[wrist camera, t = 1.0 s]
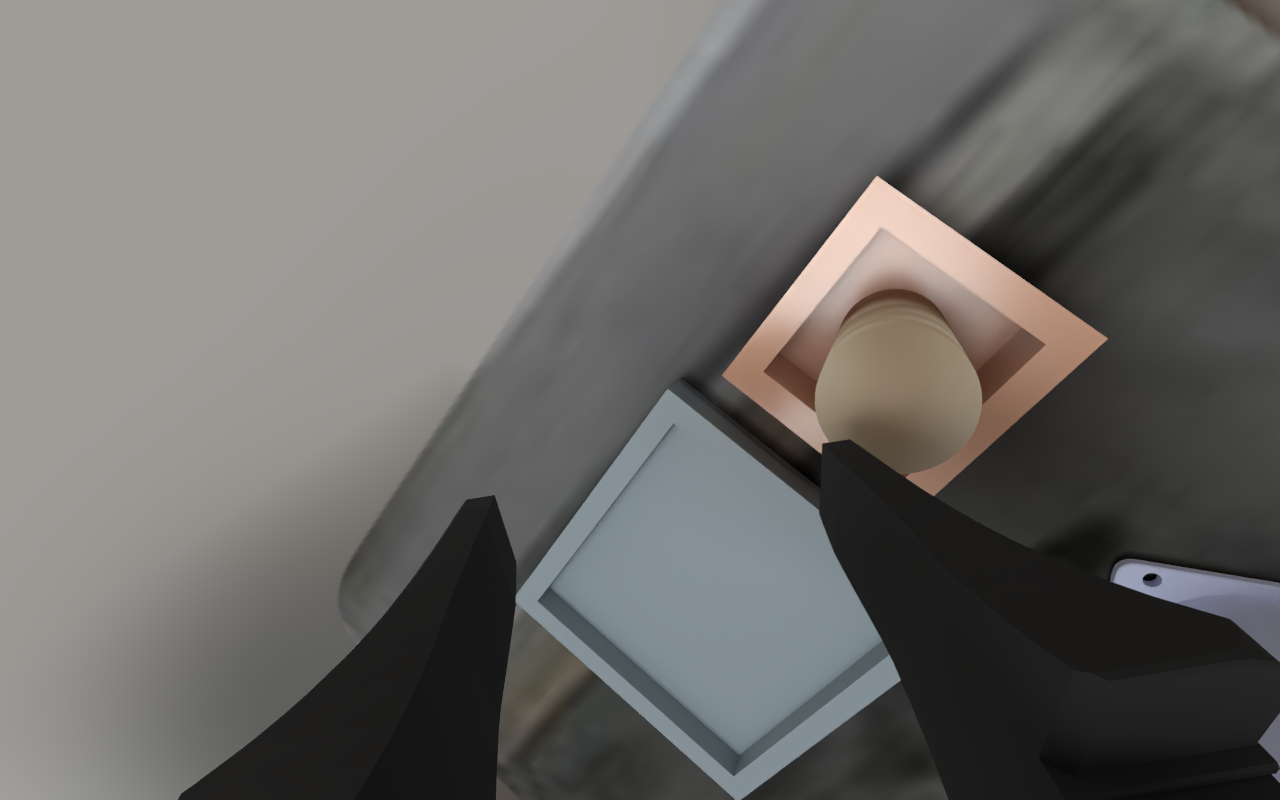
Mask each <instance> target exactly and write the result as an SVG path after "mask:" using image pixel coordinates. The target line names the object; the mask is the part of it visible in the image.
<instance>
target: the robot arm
mask: <svg viewBox="0 0 1280 800" xmlns="http://www.w3.org/2000/svg"><path fill="white" fill-rule="evenodd" d="M819 515H820V518H821V520H822V523H823V526H824V528H825V531H826V534H827V536H828V539H829V541H830V544H831V546H832V549H833V551H834V553H835V556H836V557H837V559H838V561H839V563H840V565H841V567H842V569H843V570H844V572H845V574H846V576H847V578H848V580H849V581H850V583H851V585H852V587H853V589H854V591H855V592H856V594H857V596H858V598H859V600H860V601H861V603H862V605H863V607H864V609H865V610H866V612H867V614H868V616H869V618H870V619H871V621H872V623H873V625H874V627H875V628H876V630H877V632H878V634H879V636H880V637H881V639H882V641H883V643H884V645H885V647H886V649H887V651H888V653H889V655H890V657H891V659H892V661H893V663H894V665H895V668H896V670H897V672H898V675H899V677H900V679H901V682H902V684H903V686H904V689H905V691H906V693H907V696H908V698H909V700H910V703H911V705H912V707H913V710H914V712H915V715H916V717H917V720H918V722H919V725H920V727H921V730H922V732H923V734H924V737H925V739H926V742H927V744H928V747H929V749H930V752H931V754H932V757H933V759H934V762H935V765H936V767H937V770H938V773H939V775H940V778H941V780H942V783H943V786H944V788H945V791H946V794H947V796H948V799H949V800H1280V583H1277V582H1271V581H1265V580H1259V579H1253V578H1247V577H1240V576H1234V575H1228V574H1222V573H1216V572H1210V571H1204V570H1198V569H1192V568H1186V567H1180V566H1174V565H1168V564H1161V563H1155V562H1149V561H1143V560H1137V559H1124V560H1121V561H1119V562H1118V563H1116V564H1115V566H1114V568H1113V570H1112V574H1111V578H1110V581H1108V580H1105V579H1102V578H1100V577H1097V576H1094V575H1092V574H1089V573H1086V572H1084V571H1081V570H1079V569H1076V568H1074V567H1072V566H1069V565H1067V564H1064V563H1062V562H1060V561H1057V560H1055V559H1052V558H1050V557H1048V556H1045V555H1043V554H1041V553H1039V552H1036V551H1034V550H1032V549H1030V548H1028V547H1025V546H1023V545H1021V544H1019V543H1017V542H1015V541H1013V540H1011V539H1009V538H1007V537H1005V536H1003V535H1001V534H999V533H997V532H995V531H993V530H991V529H989V528H987V527H985V526H984V525H982V524H980V523H978V522H976V521H974V520H973V519H971V518H969V517H967V516H966V515H964V514H962V513H961V512H959V511H957V510H955V509H954V508H952V507H950V506H949V505H947V504H945V503H944V502H942V501H940V500H939V499H937V498H936V497H934V496H932V495H931V494H929V493H928V492H926V491H925V490H923V489H922V488H920V487H918V486H917V485H915V484H914V483H912V482H911V481H909V480H908V479H906V478H905V477H904V476H902V475H901V474H899V473H898V472H896V471H895V470H893V469H892V468H890V467H889V466H888V465H886V464H885V463H883V462H882V461H880V460H879V459H878V458H876V457H875V456H873V455H872V454H871V453H869V452H868V451H866V450H865V449H863V448H862V447H861V446H859V445H858V444H856V443H855V442H853V441H852V440H850V439H848V440H841V441H835V442H829V443H822V461H821V483H820V505H819ZM1149 573H1155V574H1157V577H1156V578H1155V579H1154V580H1152V581H1145V580H1143V579H1142V578H1143V577H1144V576H1145V575H1147V574H1149ZM515 606H516V560H515V557H514V554H513V551H512V548H511V545H510V542H509V538H508V535H507V532H506V529H505V526H504V523H503V520H502V517H501V514H500V511H499V508H498V504H497V501H496V498H495V495H493V496H487V497H481V498H474V499H468V500H466V501H465V502H464V504H463V505H462V507H461V508H460V510H459V511H458V513H457V514H456V516H455V517H454V519H453V520H452V522H451V523H450V525H449V526H448V528H447V529H446V531H445V532H444V534H443V535H442V537H441V538H440V540H439V541H438V543H437V544H436V546H435V547H434V549H433V550H432V552H431V553H430V555H429V556H428V557H427V559H426V560H425V562H424V563H423V564H422V566H421V567H420V569H419V570H418V572H417V573H416V574H415V576H414V577H413V578H412V580H411V581H410V582H409V584H408V585H407V586H406V588H405V589H404V590H403V591H402V593H401V594H400V595H399V597H398V598H397V599H396V600H395V602H394V603H393V604H392V606H391V607H390V608H389V609H388V611H387V612H386V613H385V614H384V615H383V617H382V618H381V619H380V620H379V621H378V623H377V624H376V625H375V626H374V627H373V628H372V630H371V631H370V632H369V633H368V634H367V635H366V636H365V637H364V638H363V639H362V640H361V642H360V643H359V644H358V645H357V646H356V647H355V648H354V649H353V650H352V651H351V652H350V653H349V654H348V655H347V656H346V657H345V659H343V660H342V661H341V662H340V663H339V664H338V665H337V666H336V667H335V668H334V669H333V670H332V671H331V672H330V673H329V674H328V675H327V676H326V677H325V678H324V679H323V680H321V681H320V682H319V683H318V684H317V685H316V686H315V687H314V688H313V689H312V690H311V691H310V692H309V693H308V694H307V695H306V696H305V697H303V698H302V699H301V700H300V701H299V702H298V703H297V704H296V705H294V706H293V707H292V708H291V709H290V710H289V711H287V712H286V713H285V714H284V715H283V716H282V717H281V718H279V719H278V720H277V721H276V722H274V723H273V724H272V725H271V726H270V727H268V728H267V729H266V730H265V731H264V732H262V733H261V734H260V735H259V736H258V737H257V738H255V739H254V740H253V741H251V742H250V743H249V744H247V745H246V746H245V747H244V748H243V749H241V750H240V751H239V752H237V753H236V754H235V755H233V756H232V757H230V758H229V759H228V760H227V761H225V762H224V763H223V764H221V765H220V766H218V767H217V768H216V769H214V770H213V771H212V772H210V773H209V774H208V775H206V776H205V777H204V778H202V779H201V780H200V781H198V782H197V783H196V784H195V785H193V786H192V787H190V788H189V789H187V790H186V791H184V792H183V793H182V794H181V795H180V797H179V799H178V800H496V776H497V755H498V734H499V721H500V711H501V703H502V696H503V689H504V682H505V676H506V669H507V662H508V655H509V649H510V642H511V635H512V628H513V621H514V613H515Z"/></svg>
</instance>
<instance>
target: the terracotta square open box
mask: <svg viewBox="0 0 1280 800" xmlns="http://www.w3.org/2000/svg"><path fill="white" fill-rule="evenodd" d="M888 289H903V290H909V291H913V292H916V293H918V294H921V295H922V296H924V297H926V298H928V299H929V300H930V301H932V302H933V303H934V304H935V305H936V306H937V307H938V309H939V310H940V311H941V313H942V314H943V316H944V318H945V319H946V321H947V323H948V325H949V326H950V328H951V330H952V331H953V333H954V335H955V336H956V338H957V340H958V342H959V343H960V345H961V347H962V348H963V350H964V352H965V354H966V355H967V357H968V359H969V360H970V362H971V364H972V366H973V367H974V369H975V371H976V373H977V376H978V379H979V381H980V386H981V390H982V409H981V414H980V418H979V422H978V424H977V426H976V429H975V431H974V433H973V434H972V436H971V438H970V439H969V441H968V442H967V443H966V444H965V445H964V447H963V448H962V449H961V450H960V451H958V452H957V453H956V454H955V455H954V456H952V457H951V458H950V459H948V460H947V461H945V462H943V463H941V464H940V465H938V466H935V467H933V468H930V469H928V470H924V471H921V472H917V473H910V474H901V475H902V476H904V477H905V478H906V479H908V480H909V481H911V482H912V483H914V484H915V485H917V486H918V487H920V488H922V489H923V490H925V491H926V492H928V493H929V494H931V495H932V496H935V495H936V494H937V493H938V492H939V491H940V490H941V489H942V488H943V487H944V486H946V485H947V484H948V483H949V482H950V481H951V480H952V479H953V478H954V477H956V476H957V475H958V474H959V473H960V472H961V471H962V470H963V469H964V468H966V467H967V466H968V465H969V464H970V463H971V462H972V461H973V460H974V459H975V458H977V457H978V456H979V455H980V454H981V453H982V452H983V451H984V450H985V449H987V448H988V447H989V446H990V445H991V444H992V443H993V442H994V441H995V440H997V439H998V438H999V437H1000V436H1001V435H1002V434H1003V433H1004V432H1005V431H1006V430H1008V429H1009V428H1010V427H1011V426H1012V425H1013V424H1014V423H1015V422H1016V421H1018V420H1019V419H1020V418H1021V417H1022V416H1023V415H1024V414H1025V413H1026V412H1028V411H1029V410H1030V409H1031V408H1032V407H1033V406H1034V405H1035V404H1036V403H1037V402H1039V401H1040V400H1041V399H1042V398H1043V397H1044V396H1045V395H1046V394H1047V393H1049V392H1050V391H1051V390H1052V389H1053V388H1054V387H1055V386H1056V385H1057V384H1059V383H1060V382H1061V381H1062V380H1063V379H1064V378H1065V377H1066V376H1067V375H1068V374H1070V373H1071V372H1072V371H1073V370H1074V369H1075V368H1076V367H1077V366H1078V365H1080V364H1081V363H1082V362H1083V361H1084V360H1085V359H1086V358H1087V357H1088V356H1090V355H1091V354H1092V353H1093V352H1094V351H1095V350H1096V349H1097V348H1098V347H1099V346H1101V345H1102V344H1103V343H1104V342H1105V341H1106V340H1107V339H1108V338H1106V337H1105V336H1104V335H1102V334H1101V333H1099V332H1098V331H1096V330H1095V329H1094V328H1092V327H1091V326H1089V325H1088V324H1086V323H1085V322H1084V321H1082V320H1081V319H1079V318H1078V317H1077V316H1075V315H1074V314H1072V313H1071V312H1069V311H1068V310H1067V309H1065V308H1064V307H1062V306H1061V305H1059V304H1058V303H1057V302H1055V301H1054V300H1052V299H1051V298H1050V297H1048V296H1047V295H1045V294H1044V293H1042V292H1041V291H1040V290H1038V289H1037V288H1035V287H1034V286H1032V285H1031V284H1030V283H1028V282H1027V281H1025V280H1024V279H1023V278H1021V277H1020V276H1018V275H1017V274H1015V273H1014V272H1013V271H1011V270H1010V269H1008V268H1007V267H1006V266H1004V265H1003V264H1001V263H1000V262H998V261H997V260H996V259H994V258H993V257H991V256H990V255H988V254H987V253H986V252H984V251H983V250H981V249H980V248H979V247H977V246H976V245H974V244H973V243H971V242H970V241H969V240H967V239H966V238H964V237H963V236H961V235H960V234H959V233H957V232H956V231H954V230H953V229H952V228H950V227H949V226H947V225H946V224H944V223H943V222H942V221H940V220H939V219H937V218H936V217H935V216H933V215H932V214H930V213H929V212H927V211H926V210H925V209H923V208H922V207H920V206H919V205H917V204H916V203H915V202H913V201H912V200H910V199H909V198H908V197H906V196H905V195H903V194H902V193H900V192H899V191H898V190H896V189H895V188H893V187H892V186H890V185H889V184H888V183H886V182H885V181H883V180H882V179H881V178H879V177H878V176H876V178H875V179H874V180H873V181H872V183H871V184H870V185H869V187H868V188H867V189H866V190H865V192H864V193H863V194H862V196H861V197H860V198H859V200H858V201H857V202H856V203H855V205H854V206H853V207H852V209H851V210H850V211H849V212H848V214H847V215H846V216H845V218H844V219H843V220H842V221H841V223H840V224H839V225H838V227H837V228H836V229H835V230H834V232H833V233H832V234H831V236H830V237H829V238H828V239H827V241H826V242H825V243H824V245H823V246H822V247H821V249H820V250H819V251H818V252H817V254H816V255H815V256H814V258H813V259H812V260H811V261H810V263H809V264H808V265H807V267H806V268H805V269H804V270H803V272H802V273H801V274H800V276H799V277H798V278H797V279H796V281H795V282H794V283H793V285H792V286H791V287H790V288H789V290H788V291H787V292H786V294H785V295H784V296H783V297H782V299H781V300H780V301H779V303H778V304H777V305H776V307H775V308H774V309H773V310H772V312H771V313H770V314H769V316H768V317H767V318H766V319H765V321H764V322H763V323H762V325H761V326H760V327H759V328H758V330H757V331H756V332H755V334H754V335H753V336H752V337H751V339H750V340H749V341H748V343H747V344H746V345H745V346H744V348H743V349H742V350H741V352H740V353H739V354H738V356H737V357H736V358H735V359H734V361H733V362H732V363H731V365H730V366H729V367H728V368H727V370H726V371H725V372H724V374H723V375H722V376H723V377H724V378H726V379H727V380H728V381H729V382H731V383H732V384H733V385H734V386H736V387H737V388H738V389H739V390H741V391H742V392H743V393H745V394H746V395H747V396H748V397H750V398H751V399H752V400H753V401H755V402H756V403H757V404H759V405H760V406H761V407H762V408H764V409H765V410H766V411H767V412H769V413H770V414H771V415H773V416H774V417H775V418H776V419H778V420H779V421H780V422H781V423H783V424H784V425H785V426H786V427H788V428H789V429H790V430H792V431H793V432H794V433H795V434H797V435H798V436H799V437H800V438H802V439H803V440H804V441H806V442H807V443H808V444H809V445H811V446H812V447H813V448H814V449H816V450H817V451H818V452H819V453H821V454H822V443H829V441H828V440H827V438H826V437H825V435H824V433H823V431H822V430H821V427H820V425H819V422H818V419H817V415H816V410H815V391H816V385H817V382H818V379H819V376H820V373H821V371H822V369H823V366H824V364H825V361H826V359H827V357H828V354H829V352H830V350H831V347H832V345H833V343H834V340H835V338H836V336H837V333H838V331H839V329H840V326H841V324H842V322H843V320H844V318H845V316H846V315H847V313H848V312H849V310H850V309H851V308H852V307H853V306H854V305H855V304H856V303H857V302H859V301H860V300H861V299H863V298H865V297H866V296H868V295H870V294H873V293H875V292H878V291H882V290H888Z"/></svg>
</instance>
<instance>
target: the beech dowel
mask: <svg viewBox="0 0 1280 800" xmlns="http://www.w3.org/2000/svg"><path fill="white" fill-rule="evenodd" d="M981 409H982V390H981V386H980V381H979V379H978V376H977V373H976V371H975V369H974V367H973V366H972V364H971V362H970V360H969V359H968V357H967V355H966V354H965V352H964V350H963V348H962V347H961V345H960V343H959V342H958V340H957V338H956V336H955V335H954V333H953V331H952V330H951V328H950V326H949V325H948V323H947V321H946V319H945V318H944V316H943V314H942V313H941V311H940V310H939V309H938V307H937V306H936V305H935V304H934V303H933V302H932V301H930V300H929V299H928V298H926V297H924V296H922V295H921V294H918V293H916V292H913V291H909V290H903V289H888V290H882V291H878V292H875V293H873V294H870V295H868V296H866V297H865V298H863V299H861V300H860V301H859V302H857V303H856V304H855V305H854V306H853V307H852V308H851V309H850V310H849V312H848V313H847V315H846V316H845V318H844V320H843V322H842V324H841V326H840V329H839V331H838V333H837V336H836V338H835V340H834V343H833V345H832V347H831V350H830V352H829V354H828V357H827V359H826V361H825V364H824V366H823V369H822V371H821V373H820V376H819V379H818V382H817V385H816V391H815V410H816V415H817V419H818V422H819V425H820V427H821V430H822V431H823V433H824V435H825V437H826V438H827V440H828V441H829V442H835V441H841V440H848V439H850V440H852V441H853V442H855V443H856V444H858V445H859V446H861V447H862V448H863V449H865V450H866V451H868V452H869V453H871V454H872V455H873V456H875V457H876V458H878V459H879V460H880V461H882V462H883V463H885V464H886V465H888V466H889V467H890V468H892V469H893V470H895V471H896V472H898V473H899V474H910V473H917V472H921V471H924V470H928V469H930V468H933V467H935V466H938V465H940V464H941V463H943V462H945V461H947V460H948V459H950V458H951V457H952V456H954V455H955V454H956V453H957V452H958V451H960V450H961V449H962V448H963V447H964V445H965V444H966V443H967V442H968V441H969V439H970V438H971V436H972V434H973V433H974V431H975V429H976V426H977V424H978V422H979V418H980V414H981Z"/></svg>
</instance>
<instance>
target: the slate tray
mask: <svg viewBox="0 0 1280 800" xmlns="http://www.w3.org/2000/svg"><path fill="white" fill-rule="evenodd" d="M819 505H820V488H819V487H818V486H817V485H815V484H814V483H813V482H812V481H810V480H809V479H808V478H807V477H805V476H804V475H803V474H802V473H800V472H799V471H798V470H796V469H795V468H794V467H793V466H791V465H790V464H789V463H788V462H786V461H785V460H784V459H783V458H781V457H780V456H779V455H778V454H776V453H775V452H774V451H773V450H771V449H770V448H769V447H768V446H766V445H765V444H764V443H763V442H761V441H760V440H759V439H758V438H756V437H755V436H754V435H753V434H751V433H750V432H749V431H748V430H746V429H745V428H744V427H743V426H741V425H740V424H739V423H738V422H736V421H735V420H734V419H732V418H731V417H730V416H729V415H727V414H726V413H725V412H724V411H722V410H721V409H720V408H719V407H717V406H716V405H715V404H714V403H712V402H711V401H710V400H709V399H707V398H706V397H705V396H704V395H702V394H701V393H700V392H699V391H697V390H696V389H695V388H694V387H692V386H691V385H690V384H689V383H687V382H686V381H685V380H684V379H682V378H681V379H680V380H678V381H677V382H676V383H674V384H673V385H672V386H670V387H669V388H668V389H667V390H666V392H665V393H664V394H663V396H662V397H661V398H660V400H659V401H658V402H657V404H656V405H655V407H654V408H653V409H652V411H651V412H650V413H649V415H648V416H647V417H646V419H645V420H644V422H643V423H642V424H641V426H640V427H639V428H638V430H637V431H636V433H635V434H634V435H633V437H632V438H631V439H630V441H629V442H628V443H627V445H626V446H625V448H624V449H623V450H622V452H621V453H620V454H619V456H618V457H617V458H616V460H615V461H614V463H613V464H612V465H611V467H610V468H609V469H608V471H607V472H606V473H605V475H604V476H603V478H602V479H601V480H600V482H599V483H598V484H597V486H596V487H595V488H594V490H593V491H592V493H591V494H590V495H589V497H588V498H587V499H586V501H585V502H584V503H583V505H582V506H581V508H580V509H579V510H578V512H577V513H576V514H575V516H574V517H573V518H572V520H571V521H570V523H569V524H568V525H567V527H566V528H565V529H564V531H563V532H562V533H561V535H560V536H559V538H558V539H557V540H556V542H555V543H554V544H553V546H552V547H551V548H550V550H549V551H548V553H547V554H546V555H545V557H544V558H543V559H542V561H541V562H540V564H539V565H538V566H537V568H536V569H535V570H534V572H533V573H532V574H531V576H530V577H529V579H528V580H527V581H526V583H525V584H524V585H523V587H522V588H521V589H520V591H519V592H518V594H517V595H516V603H517V604H518V605H520V606H521V607H522V608H523V609H524V610H525V611H526V612H527V613H529V614H530V615H531V616H532V617H533V618H534V619H535V620H536V621H537V622H539V623H540V624H541V625H542V626H543V627H544V628H545V629H546V630H547V631H549V632H550V633H551V634H552V635H553V636H554V637H555V638H556V639H557V640H559V641H560V642H561V643H562V644H563V645H564V646H565V647H566V648H567V649H569V650H570V651H571V652H572V653H573V654H574V655H575V656H576V657H577V658H579V659H580V660H581V661H582V662H583V663H584V664H585V665H586V666H587V667H589V668H590V669H591V670H592V671H593V672H594V673H595V674H596V675H597V676H599V677H600V678H601V679H602V680H603V681H604V682H605V683H606V684H608V685H609V686H610V687H611V688H612V689H613V690H614V691H615V692H616V693H618V694H619V695H620V696H621V697H622V698H623V699H624V700H625V701H626V702H628V703H629V704H630V705H631V706H632V707H633V708H634V709H635V710H636V711H638V712H639V713H640V714H641V715H642V716H643V717H644V718H645V719H646V720H648V721H649V722H650V723H651V724H652V725H653V726H654V727H655V728H656V729H658V730H659V731H660V732H661V733H662V734H663V735H664V736H665V737H666V738H668V739H669V740H670V741H671V742H672V743H673V744H674V745H675V746H676V747H678V748H679V749H680V750H681V751H682V752H683V753H684V754H685V755H686V756H688V757H689V758H690V759H691V760H692V761H693V762H694V763H695V764H697V765H698V766H699V767H700V768H701V769H702V770H703V771H704V772H705V773H707V774H708V775H709V776H710V777H711V778H712V779H713V780H714V781H715V782H717V783H718V784H719V785H720V786H721V787H722V788H723V789H724V790H725V791H727V792H728V793H729V794H730V795H731V796H732V797H733V798H734V799H735V800H741V799H742V798H744V797H745V796H746V795H748V794H749V793H750V792H752V791H753V790H754V789H756V788H757V787H758V786H760V785H761V784H762V783H764V782H765V781H766V780H768V779H769V778H770V777H772V776H773V775H774V774H776V773H777V772H778V771H780V770H781V769H782V768H784V767H785V766H786V765H788V764H789V763H790V762H792V761H793V760H794V759H796V758H797V757H798V756H800V755H801V754H803V753H804V752H805V751H807V750H808V749H809V748H811V747H812V746H813V745H815V744H816V743H817V742H819V741H820V740H821V739H823V738H824V737H825V736H827V735H828V734H829V733H831V732H832V731H833V730H835V729H836V728H837V727H839V726H840V725H841V724H843V723H844V722H845V721H847V720H848V719H849V718H851V717H852V716H853V715H855V714H856V713H857V712H859V711H860V710H861V709H863V708H864V707H865V706H867V705H868V704H869V703H871V702H872V701H873V700H875V699H876V698H877V697H879V696H880V695H881V694H883V693H884V692H885V691H887V690H888V689H890V688H891V687H892V686H894V685H895V684H896V683H898V682H899V681H900V680H901V679H900V677H899V675H898V672H897V670H896V668H895V665H894V663H893V661H892V659H891V657H890V655H889V653H888V651H887V649H886V647H885V645H884V643H883V641H882V639H881V637H880V636H879V634H878V632H877V630H876V628H875V627H874V625H873V623H872V621H871V619H870V618H869V616H868V614H867V612H866V610H865V609H864V607H863V605H862V603H861V601H860V600H859V598H858V596H857V594H856V592H855V591H854V589H853V587H852V585H851V583H850V581H849V580H848V578H847V576H846V574H845V572H844V570H843V569H842V567H841V565H840V563H839V561H838V559H837V557H836V556H835V553H834V551H833V549H832V546H831V544H830V541H829V539H828V536H827V534H826V531H825V528H824V526H823V523H822V520H821V518H820V515H819Z"/></svg>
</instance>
